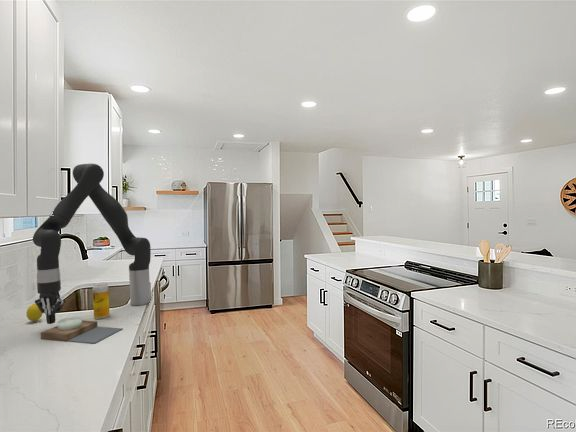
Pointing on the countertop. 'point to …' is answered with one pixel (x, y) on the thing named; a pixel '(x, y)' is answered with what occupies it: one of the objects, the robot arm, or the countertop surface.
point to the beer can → (101, 300)
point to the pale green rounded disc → (69, 323)
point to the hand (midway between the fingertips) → (51, 323)
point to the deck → (68, 332)
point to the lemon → (34, 313)
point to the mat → (95, 335)
